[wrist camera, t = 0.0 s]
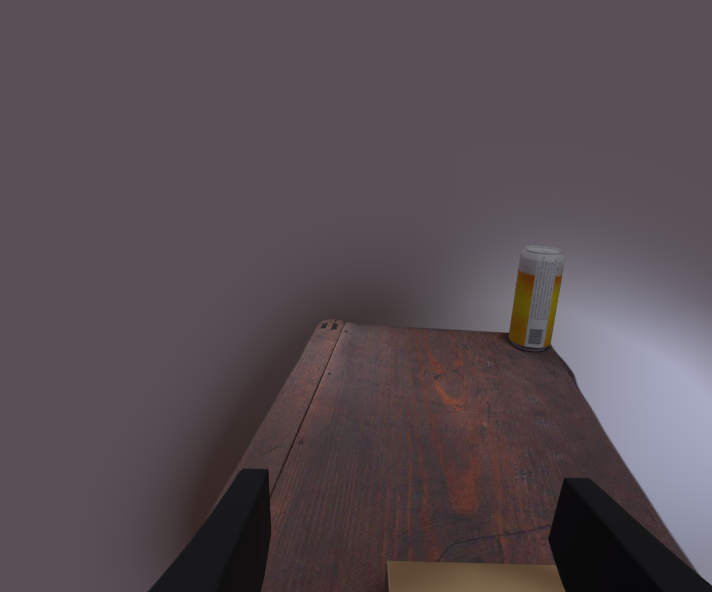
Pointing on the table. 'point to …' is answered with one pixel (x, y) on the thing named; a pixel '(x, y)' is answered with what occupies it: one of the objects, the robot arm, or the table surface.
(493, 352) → the table surface
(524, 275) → the beer can
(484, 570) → the square wooden board
